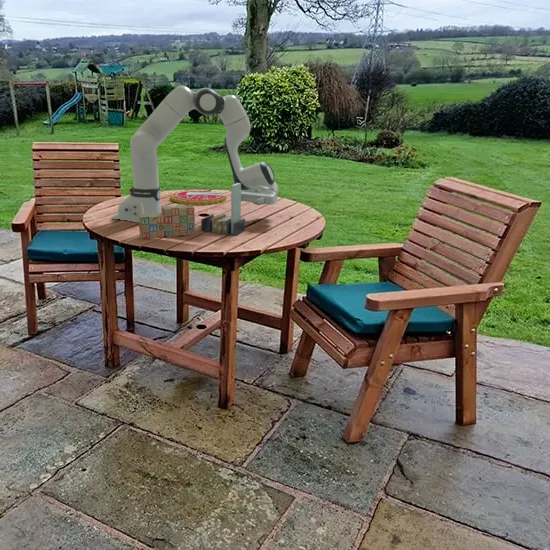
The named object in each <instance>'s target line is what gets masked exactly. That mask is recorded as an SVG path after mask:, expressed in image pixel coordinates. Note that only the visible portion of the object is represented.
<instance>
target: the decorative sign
mask: <svg viewBox="0 0 550 550" xmlns="http://www.w3.org/2000/svg"><path fill="white" fill-rule="evenodd" d="M170 199H171V200H170ZM226 199H227V194H225V193H221V191H212V190H205V189H204V190H199V189H196V190H184V191H178V192H174V193H172V194H170V196H169V200H170V201H171V202H173V201H175V202H178V203H177V204H179V203H181V204H180V205H185V204H191V205H192V206H207V205H211V206H212V205H218V204H223V203H224V202H223V201H225V202H226V201H227V200H228V199H227V200H226ZM175 202H174V203H175ZM222 202H223V203H222Z"/></svg>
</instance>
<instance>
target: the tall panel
mask: <svg viewBox="0 0 550 550" xmlns="http://www.w3.org/2000/svg"><path fill="white" fill-rule="evenodd" d="M230 192H231V193H230V204H231V206H230V211H231V214H230V216H231V234H233V223H235V222H237V221H239V220H241V219H242V218H241V214H242V213H241V211H242V210H241V209H242V208H241V206H242V204H241V203H242V201H241V183H236V184H235V183H234V184H231V191H230Z"/></svg>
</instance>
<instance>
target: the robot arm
mask: <svg viewBox="0 0 550 550" xmlns="http://www.w3.org/2000/svg"><path fill="white" fill-rule="evenodd" d="M192 110H196V111H198V112H199V113H200V114H202V115H204V116H212V115H217V116H219V117H220V119H221V121H222V124H223V126H224V127H225V131H226V132H225V133H226V137H225V138H224V147H225V150H226V155H227V158H228V161H229V166H230V169H231V172H232V177H233V183H234V184H236V183H241V202H248V203H252V204H253V205H256V206H261V205H276V204H277V201H278V193H279V185H278V184H277V182H276V181H275V173H274V171H273V168H272V167H271V166H270V164H268V163H267V162H265V161H261V162H257V163H254V164H252V165H249V166H246V167H243V166H242V163H241V159H240V155H239V152H238V149H239V147H240V144H242V142H244V141H245V140H246V138H247V137H248V136H249V134H250V132H251V130H252V125H251V122H250V119H249V116H248V114H247V112H246V110H245V108H244V106H243V105H242V103H241V101H240V100H239V99H238V97H237V96H236V95H233V94H228V95H225V96H222V95H220V94H219V93H218V92H216V90H214V89H213V88H211V87H203V88H202V87H201V88H199V89H196V90H194V91H193V90H191V89H190V88H189V87H188V86H185V85H179V86H176V87H175V88H173V90H172V91H171V92H170V93H168V94H167V95H166V96H165V98H164V99H163V100H161V102H160V103H159V104H158V106H157V107H156V108H155V109H154V110H153V111H152V113H150V115H149V116H148V117H147V118H146V120H144V122H143V123H142V124H141V125H140V126H139V128H138V129H137V130H136V131H135V133H134V134H133V135H132V137H130V141H129V149H130V159H131V165H132V166H131V167H132V181H133V182H132V183H133V186H132V187H131V188H129V189H128V193H130V195H129V196H127V198H125V199H124V200H122V201H121V202H120V203H119V205H118V208H117V213H115V214H114V215H113V216H112V219H113V220H117V219H120V220H119V221H124V220H127V221H126V222H131V221H132V222H131V223H138V224H139V214H150V213H161V206H162V204H161V187H160V186H159V185H160V183H159V182H160V181H159V180H160V179H159V164H158V148H159V146H160V145H161V144H162V143H163V141H165V139H166V138H167V137H168V136H169V135H170V134H171V133H172V132H173V131H174V130H175V129H176V127H177V126H178V125H179V124H180V122H181V121H182V120H183V119H184V118H185V117H186V116H187V114H189V112H191V111H192Z"/></svg>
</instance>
